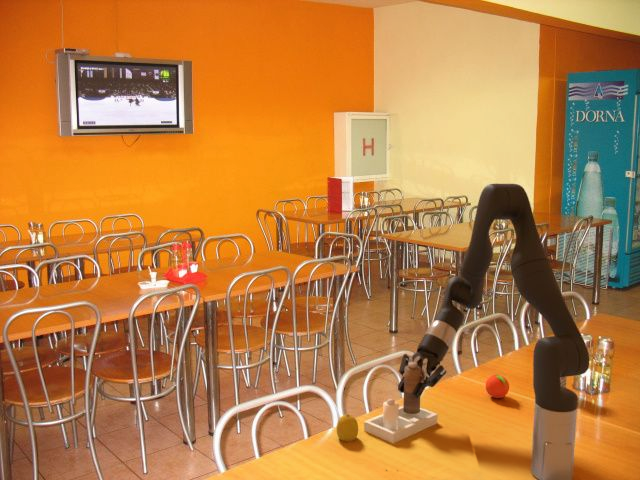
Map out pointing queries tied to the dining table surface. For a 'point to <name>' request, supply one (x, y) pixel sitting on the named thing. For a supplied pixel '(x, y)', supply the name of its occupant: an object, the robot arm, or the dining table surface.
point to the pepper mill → (411, 388)
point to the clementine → (497, 386)
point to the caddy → (401, 425)
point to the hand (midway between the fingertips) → (407, 393)
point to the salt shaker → (390, 415)
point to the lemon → (347, 428)
